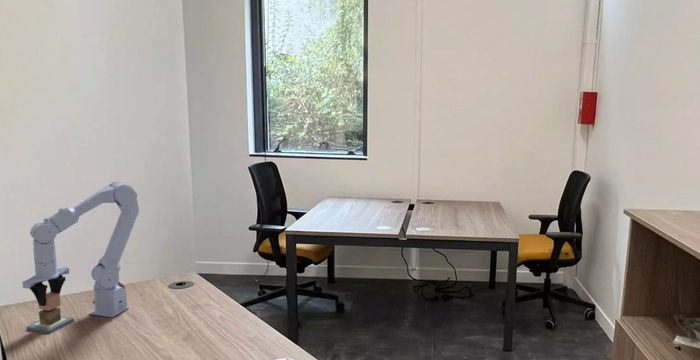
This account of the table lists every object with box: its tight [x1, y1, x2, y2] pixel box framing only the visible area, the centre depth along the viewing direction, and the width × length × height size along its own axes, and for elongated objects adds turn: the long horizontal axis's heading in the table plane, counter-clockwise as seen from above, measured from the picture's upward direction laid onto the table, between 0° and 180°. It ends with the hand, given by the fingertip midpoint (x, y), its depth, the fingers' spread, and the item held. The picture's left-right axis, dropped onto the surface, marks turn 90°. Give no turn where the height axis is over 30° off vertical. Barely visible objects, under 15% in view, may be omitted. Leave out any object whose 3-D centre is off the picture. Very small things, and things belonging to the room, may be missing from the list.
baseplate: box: [26, 315, 75, 334], centre depth 152 cm, size 9×9×1 cm
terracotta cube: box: [38, 291, 61, 310], centre depth 151 cm, size 4×4×4 cm
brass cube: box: [38, 307, 62, 325], centre depth 152 cm, size 4×4×4 cm
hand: (48, 302), depth 151 cm, fingers closed on terracotta cube, 4 cm apart
